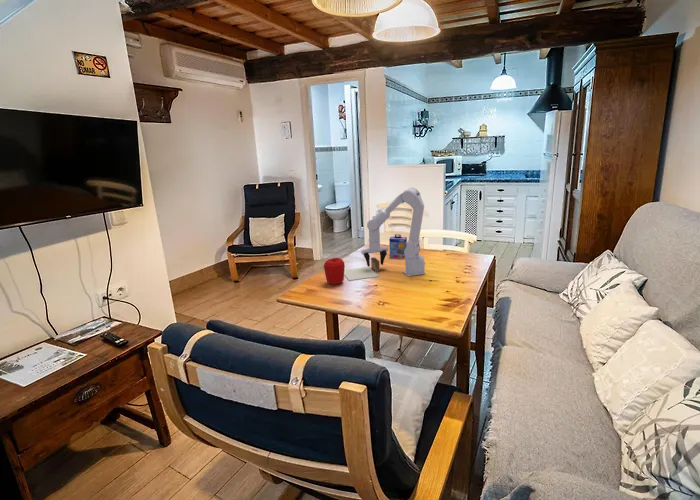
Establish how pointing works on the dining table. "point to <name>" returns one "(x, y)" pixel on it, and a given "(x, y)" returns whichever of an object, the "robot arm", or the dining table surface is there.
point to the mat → (359, 273)
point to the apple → (334, 270)
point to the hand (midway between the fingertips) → (375, 265)
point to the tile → (375, 264)
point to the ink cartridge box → (397, 246)
